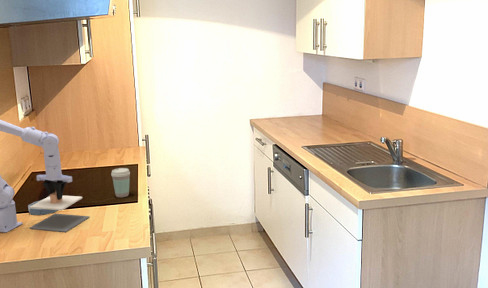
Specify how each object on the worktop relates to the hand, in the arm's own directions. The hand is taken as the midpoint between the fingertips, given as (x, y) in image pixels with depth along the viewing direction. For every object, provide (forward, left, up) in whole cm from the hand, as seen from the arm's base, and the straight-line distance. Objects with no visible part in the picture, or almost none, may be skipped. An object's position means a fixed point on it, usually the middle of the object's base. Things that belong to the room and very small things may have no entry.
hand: (56, 198), depth 198 cm
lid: (0, 0, -2) cm, 2 cm away
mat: (-1, -1, -10) cm, 10 cm away
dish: (+11, +15, -10) cm, 20 cm away
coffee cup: (+36, -8, -10) cm, 38 cm away
